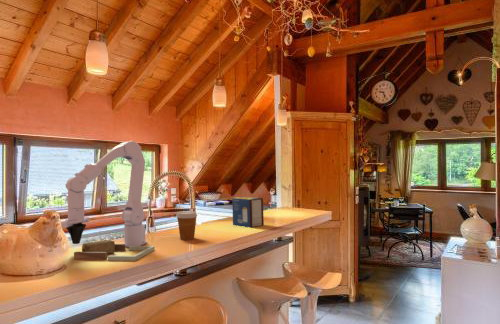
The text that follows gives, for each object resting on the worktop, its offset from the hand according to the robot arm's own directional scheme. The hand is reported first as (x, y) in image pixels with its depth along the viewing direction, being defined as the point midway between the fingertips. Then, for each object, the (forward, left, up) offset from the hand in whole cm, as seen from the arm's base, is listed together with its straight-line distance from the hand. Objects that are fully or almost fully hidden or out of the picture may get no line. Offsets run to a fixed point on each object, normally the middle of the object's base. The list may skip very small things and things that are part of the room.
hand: (76, 243), depth 138 cm
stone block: (0, +9, -5) cm, 10 cm away
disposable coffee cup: (-32, +34, -4) cm, 47 cm away
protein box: (-72, +57, -4) cm, 92 cm away
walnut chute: (0, +10, -4) cm, 11 cm away
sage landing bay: (0, +22, -4) cm, 22 cm away
